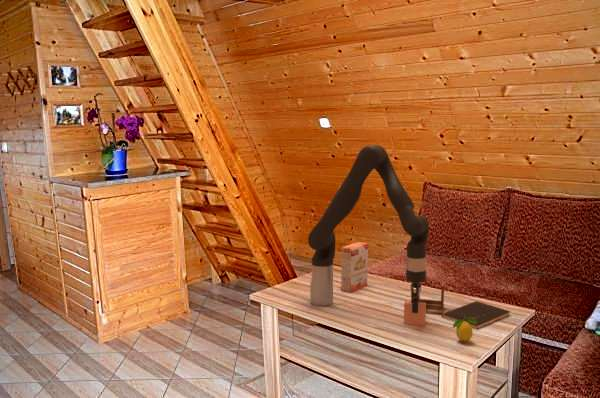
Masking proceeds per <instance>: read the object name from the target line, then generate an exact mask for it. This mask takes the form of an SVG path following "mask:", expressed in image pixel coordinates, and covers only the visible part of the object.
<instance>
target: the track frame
mask: <svg viewBox="0 0 600 398" xmlns="http://www.w3.org/2000/svg"><path fill="white" fill-rule="evenodd" d="M411 284H413V283H412V282H411ZM411 284H410V285H411ZM440 293H441V295H440V297H441V298H440V300H437V299H436V300H435V299H426V298H425V299H424V298H419V302H423V303H426V315H437V316H438V315H439V316H441V314H443V313H444V302H445V300H444V299H445V282H441V292H440ZM413 300H414V298H413Z"/></svg>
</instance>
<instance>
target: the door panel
mask: <svg viewBox="0 0 600 398" xmlns="http://www.w3.org/2000/svg"><path fill="white" fill-rule="evenodd" d="M403 304H404V305H403V324H406V323H407V324H408V325H415V326H416V325H417V326H418V325H419V326H426V320H427V319H426V315H427V314H426V303H423V302H419V303H418V313H412V303H411V300H410V301H408V300H405V301H404V303H403Z"/></svg>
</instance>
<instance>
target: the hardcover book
mask: <svg viewBox="0 0 600 398" xmlns="http://www.w3.org/2000/svg"><path fill="white" fill-rule="evenodd" d="M510 313H511V310H507V309H504V308H501V307H497V306H494V305H491V304H488V303H484V302H480V301H479V300H478V301H477V300H476V301H474V302H473V301H472V302H470V303H468V304H465V305H462V306H460V307H456V308H453V309H451V310H449V311H445V312H443V314H441V315H440V317H441V318H442V319H445V318H446V320H448V319H449V320H448V321H451V320H452V322H454V321H457V320H459V319H462V320H463V319H464V315H465V321H466V322H468V323H469V324H470V325H471V327H472V329H474V328H475V329H474V330H477V328H478V329H480V328H482V327H481V326H483V325H485V326H487V325H489V324H488V323H490V322H492V323H494V322H496V321H495V320H497V319H499V320H501V319H500V318H502V317H504V318H506V317H508V316H507V315H509V316H510ZM505 316H506V317H505ZM467 317H473V318H475V319H476V321H477V323H476V324H473V323H471V322H469V321H468V319H467ZM502 319H503V318H502ZM463 321H464V320H463ZM493 321H494V322H493ZM497 321H498V320H497ZM486 324H487V325H486ZM490 324H491V323H490ZM479 327H480V328H479ZM483 327H484V326H483Z"/></svg>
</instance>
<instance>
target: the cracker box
mask: <svg viewBox="0 0 600 398" xmlns="http://www.w3.org/2000/svg"><path fill="white" fill-rule="evenodd" d="M368 262H369V243H367V242H362V241H357V242H353V243H351V244H348V245H344V246H341V277H340V278H341V289H340V290H341V291H344V292H349V293H353V292H355V291H357V290H359V289H362V288H364V287H366V286H368V270H369V269H368V267H369V265H368V264H369V263H368Z"/></svg>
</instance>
